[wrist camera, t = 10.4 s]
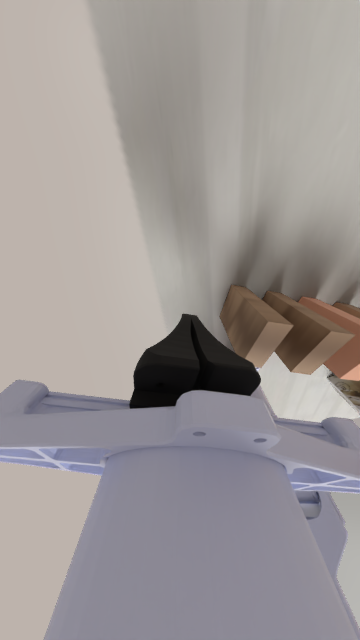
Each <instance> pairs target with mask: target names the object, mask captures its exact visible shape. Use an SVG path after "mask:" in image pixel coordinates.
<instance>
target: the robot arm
mask: <svg viewBox="0 0 360 640" xmlns="http://www.w3.org/2000/svg"><path fill="white" fill-rule="evenodd" d="M259 369H260V368H257V367H255V366H254V364H253V363H252V362H250V361H248V360H246V359H244V358H243V357H241V356H239V355H237V354H236V353H234V352H233V351H231V350H230V349H228V348H227V347H225V346H224V345H223V344H221V343H220V342H219V341H218V340H217V339H216V338H215V337H214V336H213V335H212V334H211V333H210V332H209V331H208V330H207V329H206V328H205V327H204V325H203V324H202V323H201V321H200V320H199V318H198V317H197V316H195V315H189V314H182V318H181V320H180V322H179V323H178V325H177V326H176V328H175V329H174V330H173V331H172V332H171V333H170V334H169V335H168V336H167V337H166V338H165V339H163V340H162V341H160V342H159V343H157V344H156V345H154V346H152V347H150V348H148V349H146V351H145V352H144V353H143V355H142V356H141V358H140V360H139V361H138V363H137V366H136V369H135V371H134V376H133V377H134V392H133V395H132V398H131V400H130V401H127V400H119V399H110V398H102V397H93V396H85V395H76V394H67V393H59V392H49V390H48V388H47V386H46V385H44V384H43V383H39V382H34V381H25V380H16V381H15V382H13V383H12V384H11V385H10V386H9V387H7V388H6V389H5V390H4V391H3V392H1V393H0V462H5V463H13V464H23V465H30V466H38V467H46V468H52V469H59V470H66V471H73V472H81V473H87V474H94V475H101V479H100V482H99V485H98V488H97V491H96V493H95V496H94V499H93V502H92V505H91V508H90V510H89V513H88V516H87V519H86V522H85V524H84V527H83V530H82V533H81V536H80V539H79V541H78V544H77V547H76V550H75V553H74V555H73V558H72V561H71V564H70V567H69V569H68V572H67V575H66V578H65V581H64V584H63V587H62V589H61V592H60V595H59V598H58V600H57V603H56V606H55V609H54V612H53V615H52V617H51V620H50V623H49V626H48V629H47V631H46V634H45V637H44V640H360V628H359V626H358V624H357V622H356V620H355V617H354V615H353V613H352V611H351V609H350V606H349V604H348V602H347V600H346V598H345V595H344V593H343V591H342V589H341V586H340V584H339V582H338V580H337V571H338V568H339V565H340V561H341V559H342V556H343V553H344V549H345V547H346V544H347V540H348V533H347V530H346V529H345V527H344V526H345V521H344V519H343V517H342V515H341V513H340V511H339V509H338V508H337V506H336V504H335V502H334V500H333V499H332V497H331V493H330V492H344V493H357V494H358V493H359V494H360V428H359V427H358V426H357V425H356V424H355V423H354V421H353V420H351V419H346V418H337V417H330V418H327V419H325V420H323V421H322V422H321V423H318V422H310V421H301V420H292V419H284V418H278V417H277V416H276V415H275V413H274V411H273V409H272V408H271V406H270V404H269V402H268V400H267V398H266V396H265V394H264V392H263V390H262V388H261V386H260V382H261V378H260V375H259V373H258V372H257V371H258V370H259Z"/></svg>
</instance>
